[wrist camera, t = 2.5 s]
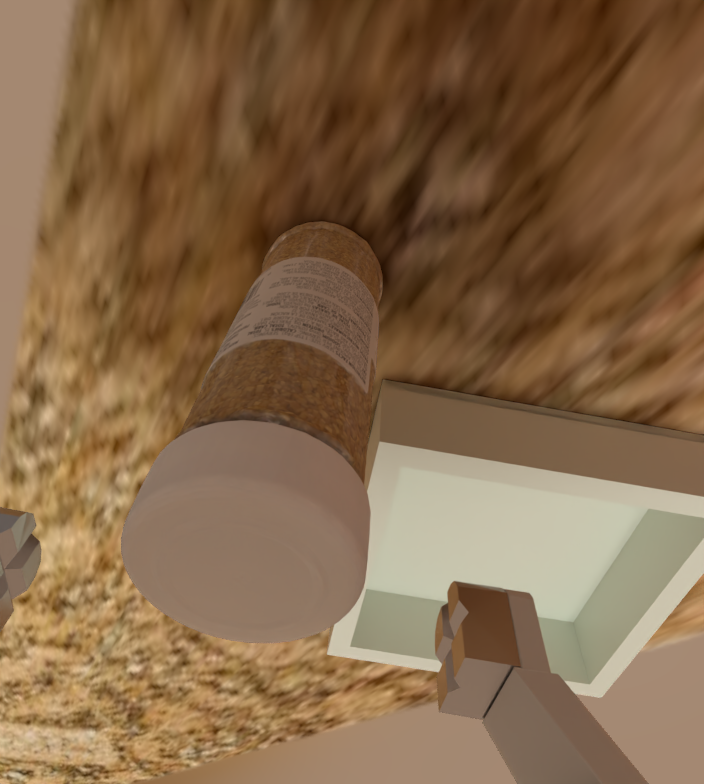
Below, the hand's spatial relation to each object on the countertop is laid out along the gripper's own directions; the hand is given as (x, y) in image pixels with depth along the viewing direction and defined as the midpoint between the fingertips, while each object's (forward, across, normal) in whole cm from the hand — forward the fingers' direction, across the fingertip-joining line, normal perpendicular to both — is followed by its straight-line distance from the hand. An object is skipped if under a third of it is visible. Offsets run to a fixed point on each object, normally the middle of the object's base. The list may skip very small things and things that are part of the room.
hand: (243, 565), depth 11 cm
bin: (+13, -10, +10) cm, 19 cm away
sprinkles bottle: (+13, 0, -1) cm, 13 cm away
